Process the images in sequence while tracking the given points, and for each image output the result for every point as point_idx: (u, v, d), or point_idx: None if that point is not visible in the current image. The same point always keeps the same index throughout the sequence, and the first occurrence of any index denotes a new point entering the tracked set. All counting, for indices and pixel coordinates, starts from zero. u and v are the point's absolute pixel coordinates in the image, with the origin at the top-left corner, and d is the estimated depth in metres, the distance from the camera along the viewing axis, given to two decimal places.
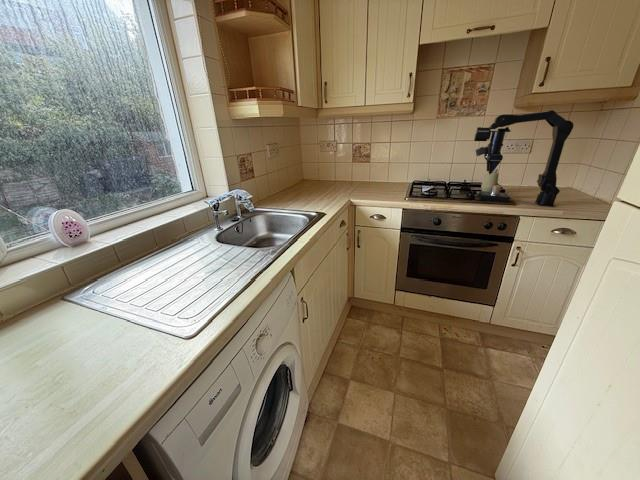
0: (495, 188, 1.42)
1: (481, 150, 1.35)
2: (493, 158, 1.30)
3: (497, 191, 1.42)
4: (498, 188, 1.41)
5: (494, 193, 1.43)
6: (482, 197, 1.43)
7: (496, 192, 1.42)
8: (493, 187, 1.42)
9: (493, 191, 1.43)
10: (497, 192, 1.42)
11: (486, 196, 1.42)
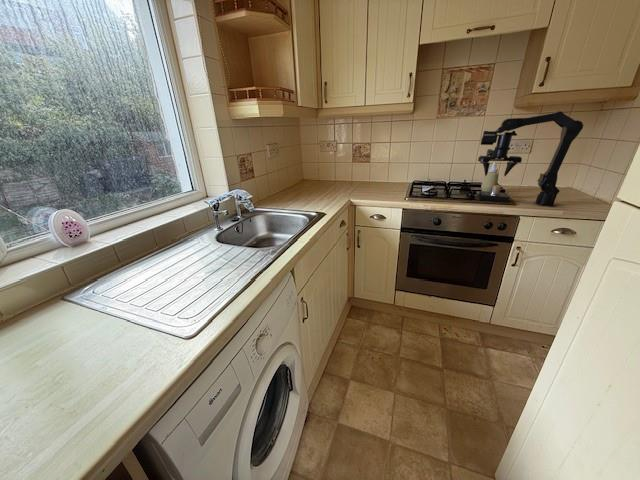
0: (495, 188, 1.42)
1: (487, 152, 1.43)
2: (479, 159, 1.40)
3: (497, 191, 1.42)
4: (498, 188, 1.41)
5: (494, 193, 1.43)
6: (482, 197, 1.43)
7: (496, 192, 1.42)
8: (493, 187, 1.42)
9: (493, 191, 1.43)
10: (497, 192, 1.42)
11: (486, 196, 1.42)
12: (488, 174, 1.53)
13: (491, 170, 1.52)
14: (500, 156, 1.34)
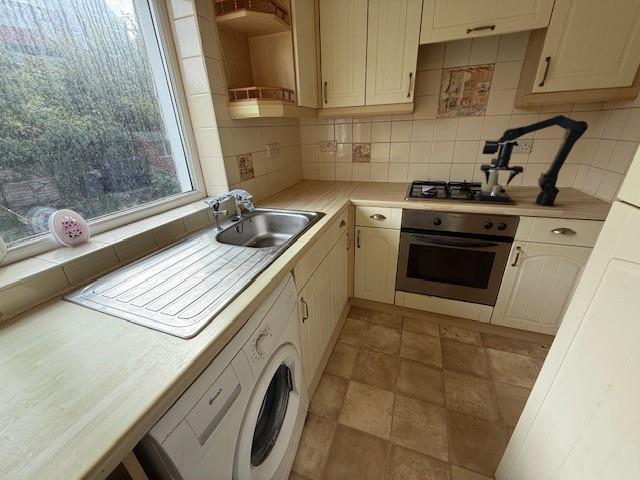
0: (495, 188, 1.42)
1: (491, 161, 1.45)
2: (480, 168, 1.43)
3: (497, 191, 1.42)
4: (498, 188, 1.41)
5: (494, 193, 1.43)
6: (482, 197, 1.43)
7: (496, 192, 1.42)
8: (493, 187, 1.42)
9: (493, 191, 1.43)
10: (497, 192, 1.42)
11: (486, 196, 1.42)
12: None
13: (491, 170, 1.52)
14: (500, 165, 1.36)
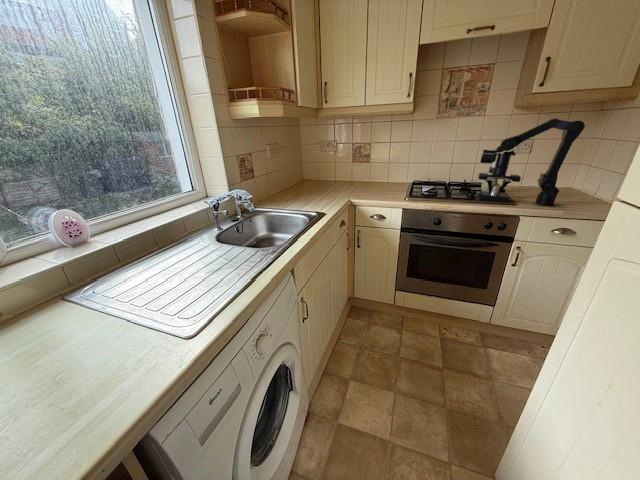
0: (495, 188, 1.42)
1: (489, 169, 1.47)
2: (478, 176, 1.45)
3: (497, 191, 1.42)
4: (498, 188, 1.41)
5: (494, 193, 1.43)
6: (482, 197, 1.43)
7: (496, 192, 1.42)
8: (493, 187, 1.42)
9: (493, 191, 1.43)
10: (497, 192, 1.42)
11: (486, 196, 1.42)
12: (488, 174, 1.53)
13: None
14: (498, 174, 1.38)
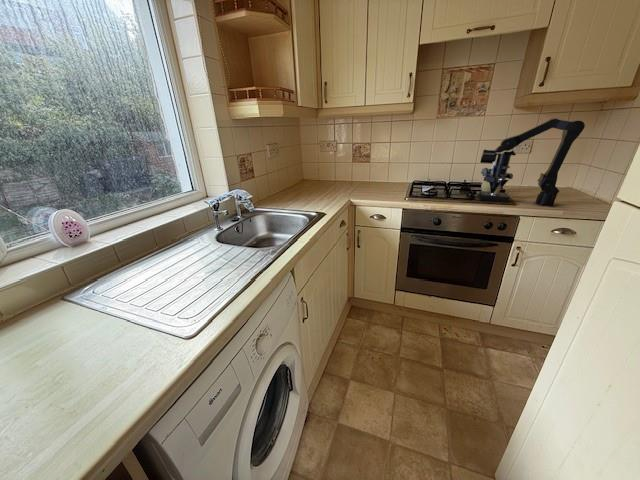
0: (499, 188, 1.41)
1: (483, 171, 1.43)
2: (487, 179, 1.37)
3: (499, 191, 1.43)
4: (500, 187, 1.42)
5: (498, 193, 1.43)
6: (482, 197, 1.43)
7: None
8: (497, 187, 1.41)
9: (497, 192, 1.42)
10: None
11: (486, 196, 1.42)
12: None
13: None
14: (504, 175, 1.38)
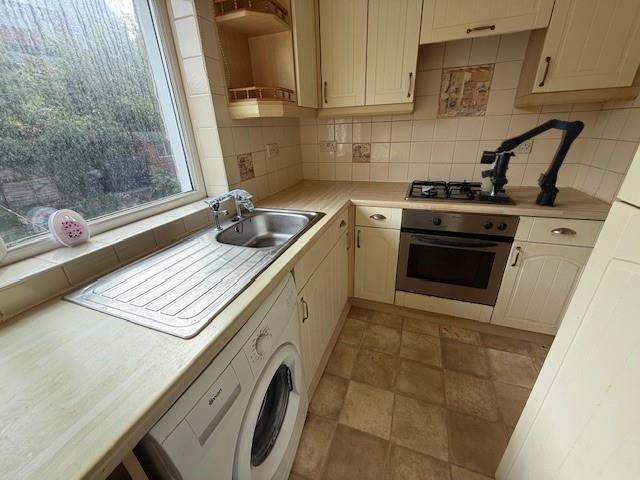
0: None
1: (487, 173, 1.39)
2: (498, 182, 1.34)
3: None
4: None
5: None
6: (482, 197, 1.43)
7: None
8: None
9: (499, 191, 1.42)
10: None
11: (486, 196, 1.42)
12: None
13: None
14: None
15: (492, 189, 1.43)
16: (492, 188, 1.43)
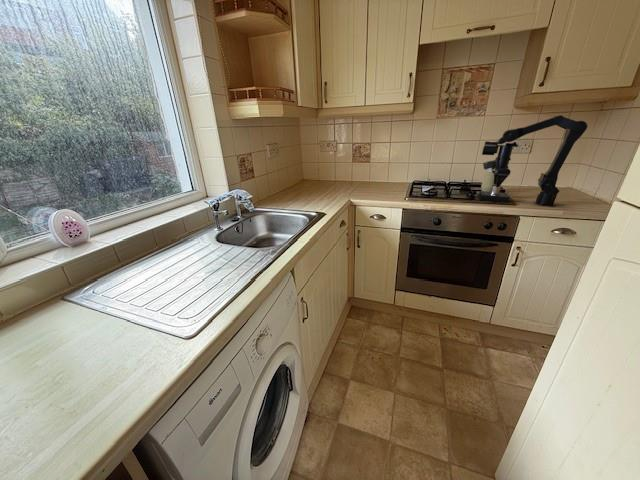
0: (500, 188, 1.42)
1: (489, 164, 1.37)
2: (501, 172, 1.32)
3: None
4: None
5: None
6: (482, 197, 1.43)
7: None
8: (499, 187, 1.41)
9: (499, 191, 1.42)
10: None
11: (486, 196, 1.42)
12: (488, 174, 1.53)
13: None
14: (507, 166, 1.37)
15: (492, 189, 1.43)
16: (492, 188, 1.43)
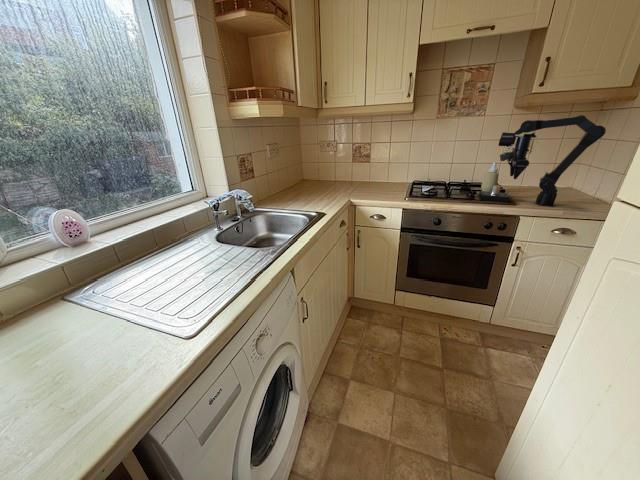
0: (500, 188, 1.42)
1: (506, 155, 1.35)
2: (519, 164, 1.30)
3: None
4: None
5: None
6: (482, 197, 1.43)
7: None
8: (499, 187, 1.41)
9: (499, 191, 1.42)
10: None
11: (486, 196, 1.42)
12: (488, 174, 1.53)
13: (491, 170, 1.52)
14: (525, 158, 1.34)
15: (492, 189, 1.43)
16: (492, 188, 1.43)
